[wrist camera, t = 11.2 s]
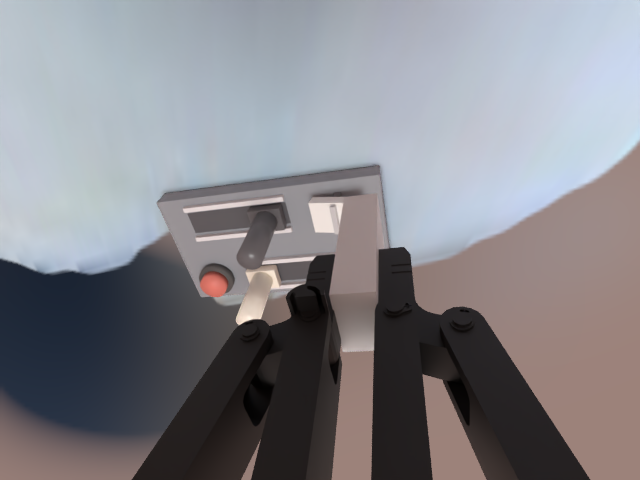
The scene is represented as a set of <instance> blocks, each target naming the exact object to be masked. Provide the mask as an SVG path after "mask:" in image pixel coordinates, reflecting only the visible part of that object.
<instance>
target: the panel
mask: <svg viewBox="0 0 640 480" xmlns="http://www.w3.org/2000/svg"><path fill="white" fill-rule="evenodd" d="M374 193H377V195H378V203H379V210H380V218H381V225H382V233H383V240H384V249H388V248H390V247H389V239H388V231H387V223H386V215H385V207H384V199H383V191H382V183H381V175H380V167H379V166H372V167H364V168H357V169H349V170H341V171H334V172H326V173H318V174H311V175H303V176H295V177H287V178H280V179H272V180H264V181H257V182H249V183H241V184H234V185H226V186H218V187H211V188H203V189H195V190H188V191H180V192H172V193H165V194H164V195H163V196H162V197H161V198H160V199H159V201H158V202H157V205H158V207H159V209H160V211H161V213H162V216H163V218H164V220H165V222H166V224H167V226H168V228H169V230H170V233H171V235H172V237H173V239H174V241H175V243H176V245H177V247H178V249H179V252H180V254H181V256H182V258H183V260H184V262H185V264H186V266H187V268H188V271H189V273H190V275H191V277H192V279H193V281H194V283H195V286H196V288H197V289H198V292H199V294H200V296H201V297H210V296H212V297H220V296H225V295H239V294H246V292H247V290H248V287H249V285H250V283H249V281H248V278H247V275H246V273H245V272H246V270H247V269H246V268H243V267H242V266H241V265H240V264H239V263H238V261H237V258H236V256H237V253H238V251H239V249H240V247H241V245H242V243H243V241H244V239H245V237H246V235H247V233H248V231H249V228H250V226H251V223H250V220H249V217H248V214H247V211H248V210H249V208H250V207H258V206H267V205H275V204H281V206H282V210H283V213H284V217H285V221H286V224H287V225H286V228H285V230H281V231H275V232H274V234H273V237H272V240H271V242H270V245H269V247H268V250H267V252H266V255H265V258H264V260H263V263H262V265H261V266H265V265H276V266H277V270H278V273H279V276H280V279H281V285H280V288H271V290H270V292H283V291H291V290H292V289H293V288H295V287H297V286H299V285H302V284H305V283H306V278H307V274H308V270H309V265H310V263H311V262H312V261H313V259H314V258H315V257H316V256H317V255H329V254H335V253H336V246H337V240H338V234H335V233H320V232H315V229H314V225H313V221H312V217H311V212H310V208H309V204H308V203H309V201H310V200H311V199H312V197H348V196H357V195H365V194H374Z"/></svg>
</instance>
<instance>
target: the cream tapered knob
mask: <svg viewBox="0 0 640 480" xmlns="http://www.w3.org/2000/svg"><path fill="white" fill-rule="evenodd" d="M245 273H246V275H247V278H248V281H249V283H250V285H249V287H248V290H247V292H246V295H245V297H244V300H243V302H242V305H241V307H240V310H239V312H238V315H237V317H236V322H237V324H238V325H240V324H242V323H244V322H245V321H249V320H252V319H261V317H262V314H263V311H264V308H265V305H266V302H267V299H268V296H269V293H270V290H271V288H280V285H281V279H280V276H279V273H278V270H277V266H276V265H265V266H260V267H259V268H258V269H255V270H249V269H247V270H246V272H245Z"/></svg>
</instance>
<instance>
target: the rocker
mask: <svg viewBox="0 0 640 480" xmlns="http://www.w3.org/2000/svg"><path fill="white" fill-rule="evenodd" d="M343 201H344V197H312V199H311V200H310V201H309V203H308V204H309V208H310V212H311V217H312V221H313V225H314V229H315V232H320V233H335V234H338V233H339V227H340V220H341V214H342V207H343Z"/></svg>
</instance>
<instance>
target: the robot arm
mask: <svg viewBox="0 0 640 480" xmlns="http://www.w3.org/2000/svg"><path fill="white" fill-rule="evenodd" d="M286 300H287V303H288V306H289V309H290V312H291V318H290V319H288V320H286V321H284V322H282V323H278V324H275V325H272V326H269V325H268V324H267V323H266V322H265V321H263V320H261V319H252V320H249V321H245V322H244V323H242V324H240V325H239V326H238V327H237V328H236V329H235V330H234V331H233V333H232V334H231V336H230V337H229V339H228V340H227V342H226V343H225V345H224V346H223V347H222V349H221V350H220V352H219V353H218V355H217V356H216V358H215V359H214V361H213V362H212V364H211V365H210V367H209V368H208V369H207V371H206V372H205V374H204V375H203V377H202V378H201V379H200V381H199V382H198V384H197V385H196V387H195V389H194V390H193V391H192V393H191V394H190V396H189V397H188V398H187V400H186V401H185V403H184V404H183V406H182V407H181V409H180V410H179V412H178V413H177V415H176V416H175V418H174V419H173V420H172V422H171V423H170V425H169V426H168V428H167V429H166V431H165V432H164V433H163V435H162V436H161V438H160V439H159V441H158V442H157V444H156V445H155V447H154V448H153V450H152V451H151V452H150V454H149V455H148V457H147V458H146V460H145V461H144V463H143V464H142V466H141V467H140V469H139V470H138V471H137V473H136V474H135V476H134V477H133V479H132V480H241V478H242V476H243V474H244V472H245V470H246V468H247V466H248V464H249V462H250V460H251V458H252V456H253V454H254V452H255V450H256V447H257V445H258V444H259V441H260V439H261V441H260V445H259V450H258V453H257V458H256V462H255V466H254V470H253V474H252V478H251V480H331V478H332V468H333V457H334V446H335V435H336V425H337V414H338V402H339V392H340V381H341V369H342V361H341V357H340V346H342V350H343V352H353V351H374V375H373V376H374V377H373V378H374V379H373V425H372V429H373V430H372V475H371V480H433V478H432V468H431V458H430V448H429V437H428V427H427V417H426V407H425V397H424V387H423V377H422V374H424V375H428V376H431V377H435V378H439V379H442V380H443V383H444V385H445V387H446V390H447V392H448V394H449V396H450V399H451V401H452V403H453V405H454V408H455V410H456V412H457V414H458V417H459V419H460V421H461V423H462V425H463V428H464V430H465V432H466V435H467V437H468V439H469V441H470V443H471V446H472V448H473V450H474V452H475V455H476V457H477V459H478V461H479V463H480V466H481V468H482V470H483V473H484V475H485V477H486V479H487V480H590V479H589V477H588V476H587V474H586V473H585V471H584V470H583V468H582V466H581V465H580V463H579V462H578V460H577V459H576V457H575V456H574V454H573V453H572V451H571V450H570V448H569V447H568V445H567V444H566V442H565V441H564V439H563V437H562V436H561V434H560V433H559V431H558V430H557V428H556V427H555V425H554V424H553V422H552V421H551V419H550V418H549V416H548V415H547V413H546V412H545V410H544V408H543V407H542V405H541V404H540V402H539V401H538V399H537V398H536V396H535V395H534V393H533V392H532V390H531V389H530V387H529V386H528V384H527V383H526V381H525V379H524V378H523V376H522V375H521V373H520V372H519V370H518V369H517V367H516V366H515V364H514V363H513V362H512V360H511V358H510V357H509V355H508V354H507V352H506V351H505V349H504V348H503V346H502V344H501V343H500V341H499V340H498V338H497V337H496V335H495V334H494V332H493V331H492V329H491V328H490V326H489V325H488V323H487V322H486V320H485V318H484V317H483V316H482V315H481V314H480V313H479V312H477V311H475V310H473V309H471V308H467V307H453V308H451V309H448V310H446V311H445V312H444V313H443V314H442V315H438V314H433V313H430V312H427V311H425V310H423V309H422V308H421V307H419V306H418V304H417V303H416V301H415V296H414V286H413V276H412V266H411V256H410V254H409V252H408V251H407V250H406V249H405V248H404V247H399V248H388V249H384V240H383V233H382V225H381V218H380V210H379V203H378V195H377V193H374V194H365V195H357V196H348V197H344V201H343V207H342V214H341V220H340V227H339V233H338V240H337V246H336V253H335V254H329V255H317V256H316V257H315V258H314V259H313V261H312V262H311V263H310V265H309V270H308V274H307V278H306V283H305V284H302V285H299V286H297V287H295V288H293V289H292V290H291V291H290V292H289V293H288V294H287V296H286Z"/></svg>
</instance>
